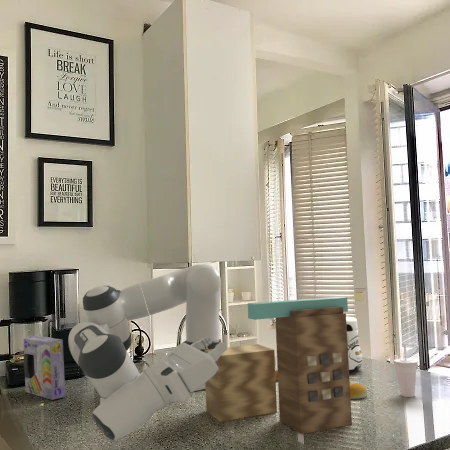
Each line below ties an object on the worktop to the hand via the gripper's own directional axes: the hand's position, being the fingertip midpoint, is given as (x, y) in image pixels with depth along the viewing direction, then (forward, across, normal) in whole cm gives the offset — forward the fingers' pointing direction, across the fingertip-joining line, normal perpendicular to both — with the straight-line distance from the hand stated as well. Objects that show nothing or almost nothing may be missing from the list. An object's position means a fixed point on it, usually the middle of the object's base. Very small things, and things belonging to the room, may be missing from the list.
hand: (216, 341), depth 107 cm
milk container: (+42, -43, -50) cm, 78 cm away
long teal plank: (+21, 0, -7) cm, 22 cm away
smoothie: (+41, -7, -49) cm, 64 cm away
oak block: (0, -16, -25) cm, 30 cm away
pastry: (+23, -41, -39) cm, 61 cm away
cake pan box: (-42, -62, -1) cm, 74 cm away
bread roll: (+29, -15, -42) cm, 54 cm away
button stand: (+11, 0, -31) cm, 33 cm away
